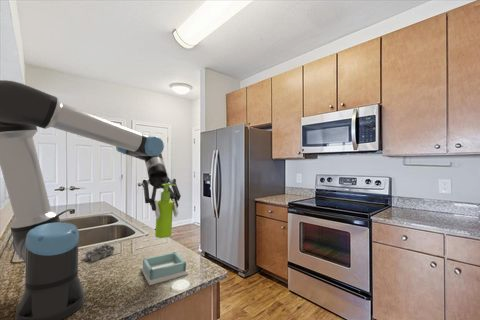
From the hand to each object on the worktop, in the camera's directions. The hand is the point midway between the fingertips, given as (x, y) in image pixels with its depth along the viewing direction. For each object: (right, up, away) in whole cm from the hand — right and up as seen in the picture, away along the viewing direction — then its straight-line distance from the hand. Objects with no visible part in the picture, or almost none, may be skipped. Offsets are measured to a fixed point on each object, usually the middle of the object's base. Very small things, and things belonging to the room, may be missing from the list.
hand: (167, 215), depth 85 cm
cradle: (-2, -22, +3) cm, 23 cm away
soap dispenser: (-2, -8, +3) cm, 9 cm away
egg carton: (-35, -22, +16) cm, 45 cm away
